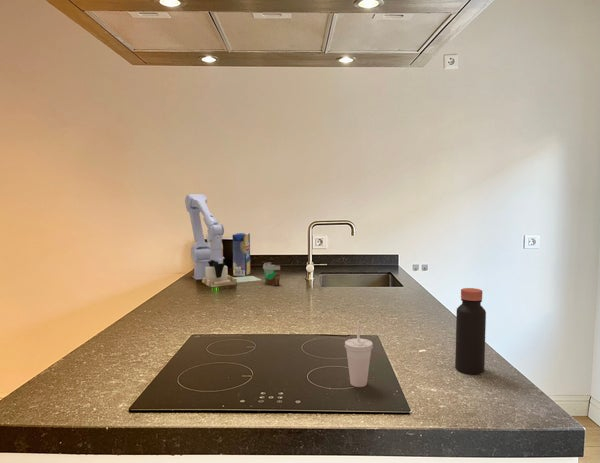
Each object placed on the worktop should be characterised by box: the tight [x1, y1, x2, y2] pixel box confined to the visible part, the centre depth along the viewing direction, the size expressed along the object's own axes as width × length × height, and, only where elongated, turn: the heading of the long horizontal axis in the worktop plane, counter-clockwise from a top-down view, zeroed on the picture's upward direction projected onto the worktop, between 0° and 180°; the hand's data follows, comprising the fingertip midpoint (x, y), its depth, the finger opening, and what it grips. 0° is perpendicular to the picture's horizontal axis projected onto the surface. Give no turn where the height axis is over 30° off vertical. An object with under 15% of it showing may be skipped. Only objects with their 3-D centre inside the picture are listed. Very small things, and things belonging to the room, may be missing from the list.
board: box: [234, 275, 263, 284], centre depth 232 cm, size 13×13×1 cm
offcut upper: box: [213, 280, 231, 284], centre depth 218 cm, size 4×8×1 cm, turn 117°
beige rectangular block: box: [205, 265, 229, 281], centre depth 225 cm, size 4×10×8 cm, turn 117°
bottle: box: [454, 287, 487, 375], centre depth 112 cm, size 7×7×20 cm
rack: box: [201, 274, 238, 288], centre depth 222 cm, size 14×13×3 cm
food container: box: [262, 261, 281, 287], centre depth 219 cm, size 12×6×10 cm, turn 25°
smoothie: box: [344, 322, 374, 388], centre depth 104 cm, size 6×6×14 cm
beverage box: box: [232, 232, 251, 277], centre depth 247 cm, size 7×11×22 cm, turn 173°
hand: (216, 276), depth 225 cm, fingers open, 6 cm apart
